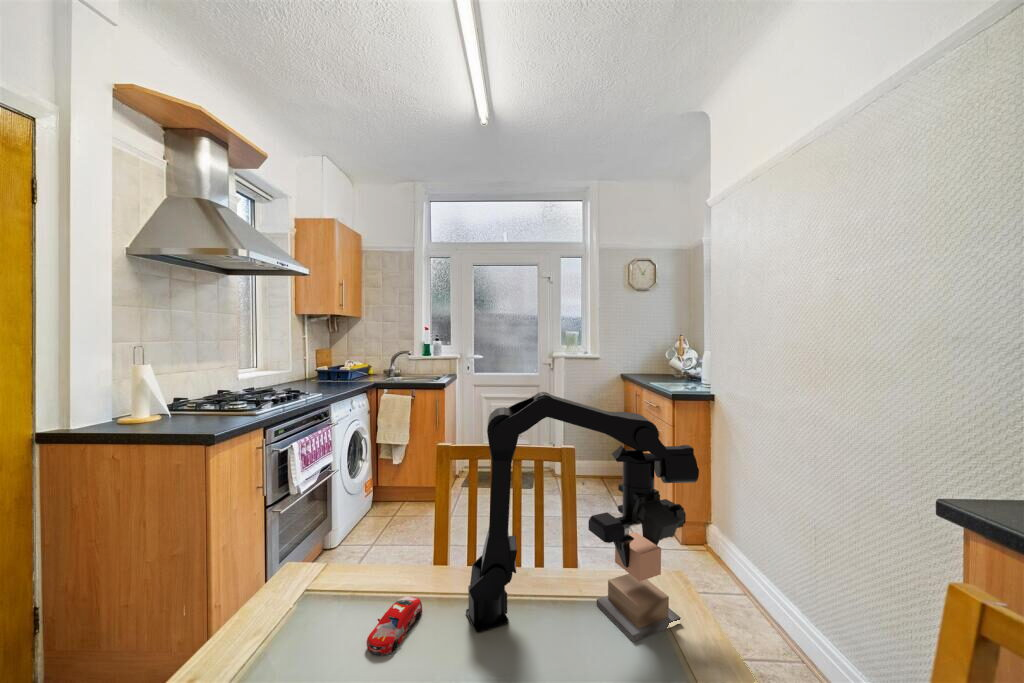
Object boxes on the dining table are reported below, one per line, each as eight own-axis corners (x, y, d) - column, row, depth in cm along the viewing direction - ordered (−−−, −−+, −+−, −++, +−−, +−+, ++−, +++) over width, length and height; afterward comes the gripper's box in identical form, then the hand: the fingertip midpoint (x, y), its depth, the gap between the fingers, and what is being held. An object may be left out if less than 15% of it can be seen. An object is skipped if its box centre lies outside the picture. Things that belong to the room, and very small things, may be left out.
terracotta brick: (639, 581, 82) (640, 554, 82) (615, 562, 89) (615, 537, 88) (660, 574, 85) (661, 548, 84) (635, 556, 91) (635, 531, 91)
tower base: (632, 641, 80) (632, 613, 80) (596, 605, 90) (596, 579, 90) (680, 623, 85) (681, 596, 84) (641, 590, 95) (641, 566, 94)
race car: (387, 662, 76) (386, 640, 76) (360, 654, 78) (359, 632, 78) (427, 612, 89) (427, 592, 88) (403, 606, 91) (402, 587, 90)
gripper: (625, 508, 74) (624, 600, 75) (709, 489, 82) (707, 573, 83) (586, 485, 85) (586, 566, 86) (665, 470, 92) (664, 544, 93)
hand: (637, 563), depth 87 cm, fingers closed on terracotta brick, 5 cm apart
